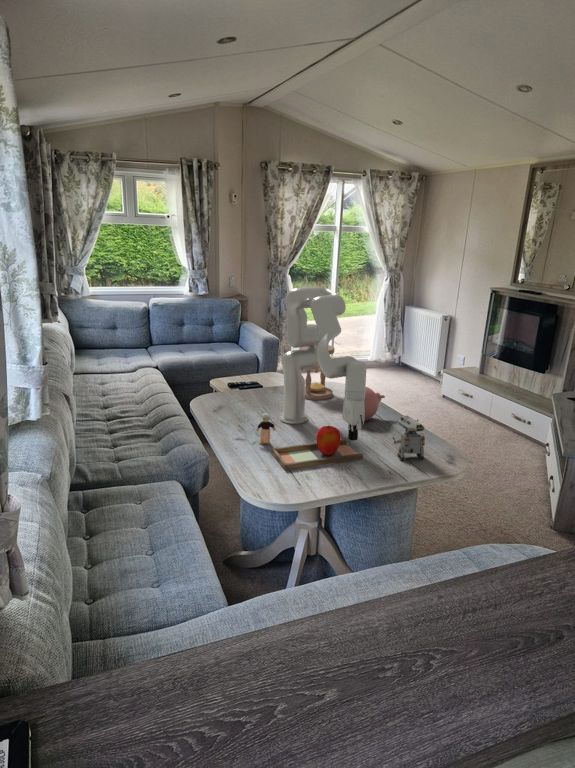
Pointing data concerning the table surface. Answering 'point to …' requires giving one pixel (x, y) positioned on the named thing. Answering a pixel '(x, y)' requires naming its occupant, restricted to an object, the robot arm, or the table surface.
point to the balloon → (371, 402)
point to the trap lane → (312, 456)
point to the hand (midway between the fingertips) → (352, 439)
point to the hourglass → (317, 384)
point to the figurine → (411, 438)
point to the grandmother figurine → (265, 429)
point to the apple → (328, 440)
